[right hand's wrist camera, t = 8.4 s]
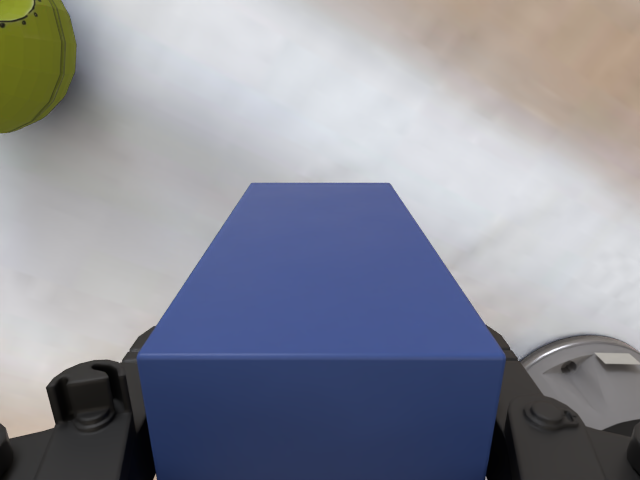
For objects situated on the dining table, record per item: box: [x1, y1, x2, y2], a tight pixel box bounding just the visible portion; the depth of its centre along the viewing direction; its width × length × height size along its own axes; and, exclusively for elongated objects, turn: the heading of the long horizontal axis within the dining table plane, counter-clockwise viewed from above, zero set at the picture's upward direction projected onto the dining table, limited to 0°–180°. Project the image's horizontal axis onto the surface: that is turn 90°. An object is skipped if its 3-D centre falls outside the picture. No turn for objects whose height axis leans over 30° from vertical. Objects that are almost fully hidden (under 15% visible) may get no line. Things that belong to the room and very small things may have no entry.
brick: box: [137, 183, 506, 480], centre depth 12 cm, size 5×6×11 cm
